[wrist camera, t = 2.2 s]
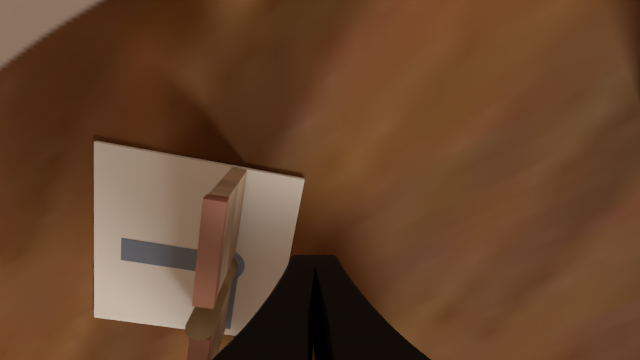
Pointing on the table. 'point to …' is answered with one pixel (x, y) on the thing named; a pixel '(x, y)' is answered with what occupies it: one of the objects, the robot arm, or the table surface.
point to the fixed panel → (210, 322)
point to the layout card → (181, 235)
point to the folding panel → (218, 236)
